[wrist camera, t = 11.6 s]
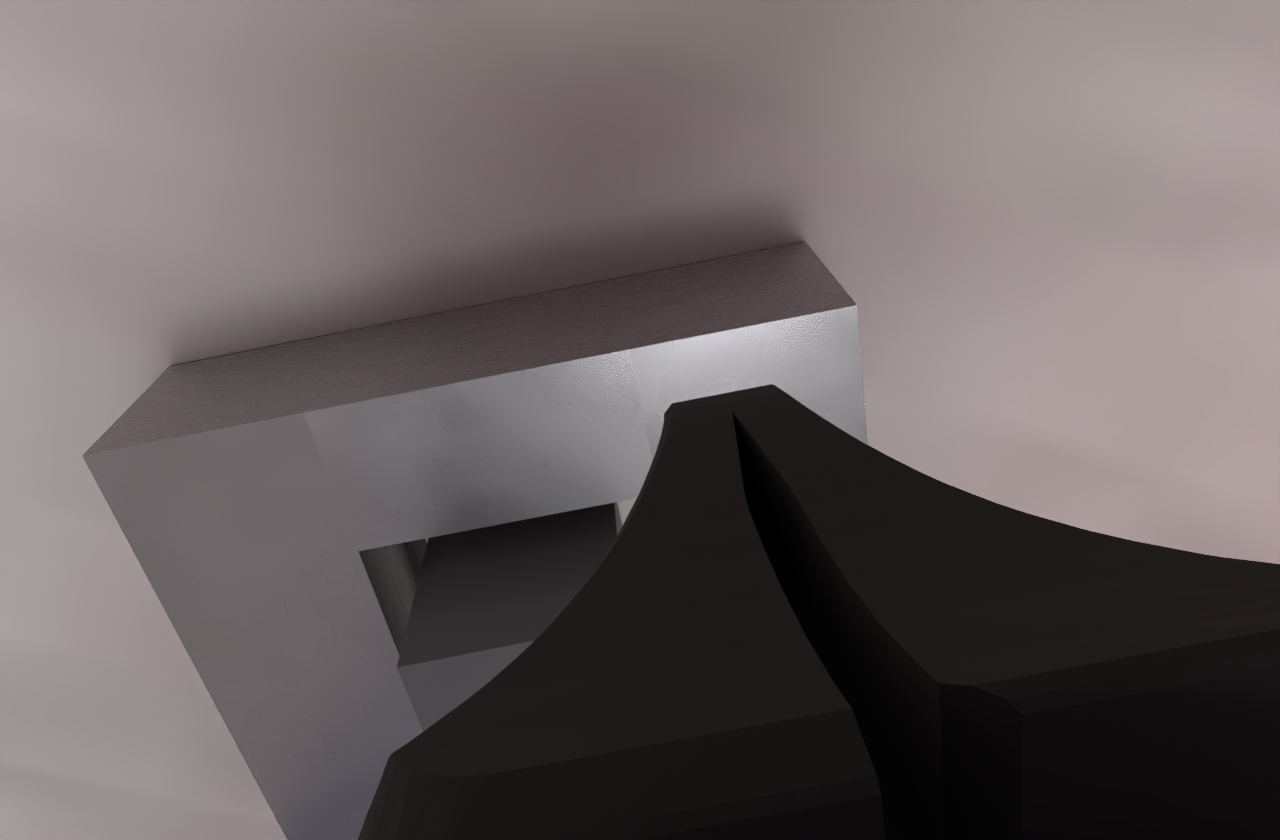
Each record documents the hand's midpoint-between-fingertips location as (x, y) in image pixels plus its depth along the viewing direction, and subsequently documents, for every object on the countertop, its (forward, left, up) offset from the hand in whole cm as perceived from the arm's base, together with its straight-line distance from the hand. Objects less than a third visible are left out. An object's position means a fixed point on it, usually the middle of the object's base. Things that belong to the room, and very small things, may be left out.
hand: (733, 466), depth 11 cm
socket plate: (-4, -7, -9) cm, 12 cm away
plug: (-4, -7, -8) cm, 12 cm away
